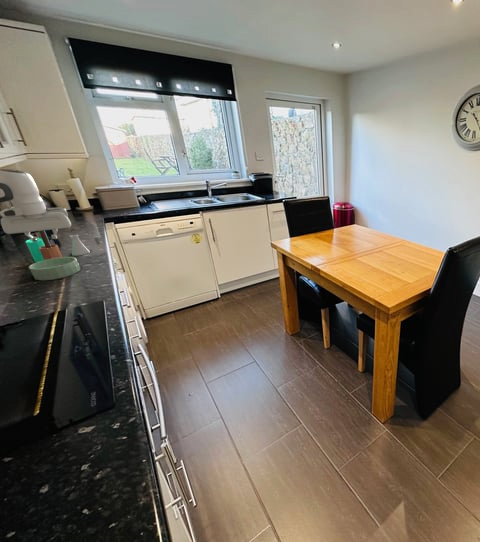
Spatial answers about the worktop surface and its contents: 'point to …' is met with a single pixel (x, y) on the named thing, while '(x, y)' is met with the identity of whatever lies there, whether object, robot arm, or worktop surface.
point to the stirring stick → (44, 239)
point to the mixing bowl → (54, 268)
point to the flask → (78, 246)
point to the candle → (35, 249)
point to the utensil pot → (50, 252)
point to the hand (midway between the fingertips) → (45, 240)
